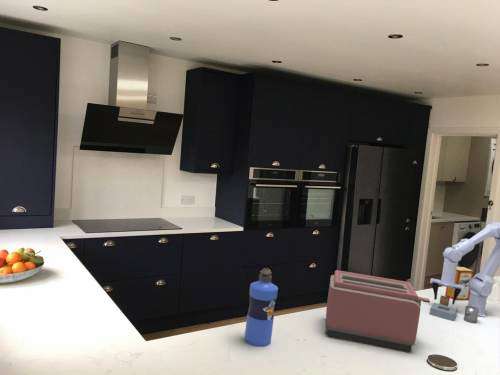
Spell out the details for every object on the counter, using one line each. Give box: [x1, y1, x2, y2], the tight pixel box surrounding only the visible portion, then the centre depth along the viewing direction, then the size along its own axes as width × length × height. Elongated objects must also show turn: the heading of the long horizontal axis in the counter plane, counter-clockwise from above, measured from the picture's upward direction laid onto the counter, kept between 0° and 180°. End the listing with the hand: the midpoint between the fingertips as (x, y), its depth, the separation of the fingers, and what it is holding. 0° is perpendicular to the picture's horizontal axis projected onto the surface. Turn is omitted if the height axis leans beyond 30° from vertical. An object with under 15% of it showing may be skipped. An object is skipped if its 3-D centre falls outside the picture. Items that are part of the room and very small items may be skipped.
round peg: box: [463, 305, 479, 324], centre depth 191 cm, size 5×5×6 cm
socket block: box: [429, 302, 458, 322], centre depth 195 cm, size 10×10×3 cm
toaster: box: [325, 269, 431, 353], centre depth 161 cm, size 19×36×21 cm, turn 79°
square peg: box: [438, 295, 451, 306], centre depth 202 cm, size 4×4×6 cm
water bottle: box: [244, 267, 279, 348], centre depth 146 cm, size 9×9×25 cm
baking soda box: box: [444, 266, 475, 301], centre depth 223 cm, size 10×6×16 cm
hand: (444, 301), depth 202 cm, fingers open, 7 cm apart
